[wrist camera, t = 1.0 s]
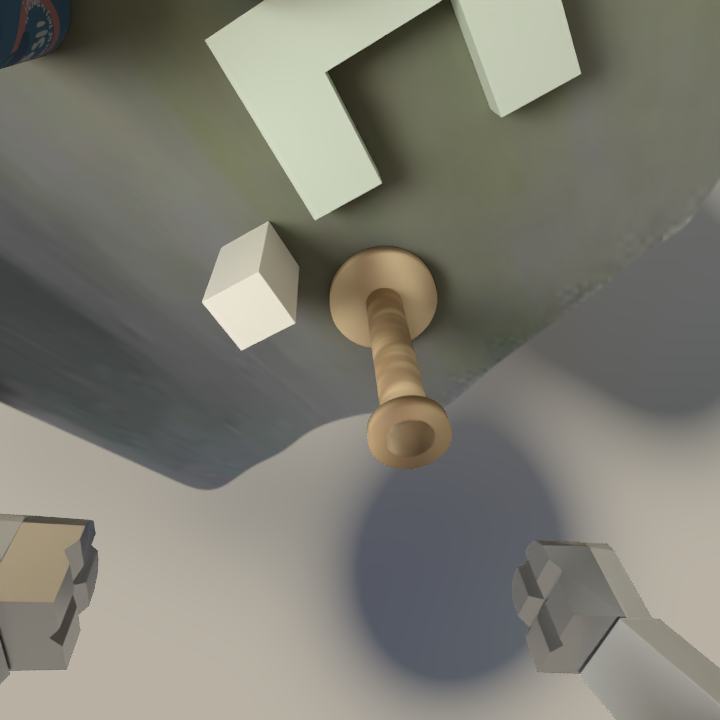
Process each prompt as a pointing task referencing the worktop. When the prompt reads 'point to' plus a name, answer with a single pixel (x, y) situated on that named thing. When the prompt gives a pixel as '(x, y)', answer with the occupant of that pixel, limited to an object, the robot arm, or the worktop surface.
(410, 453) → the bobbin post
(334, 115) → the notched board
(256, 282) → the block
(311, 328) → the worktop surface
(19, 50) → the soda can
